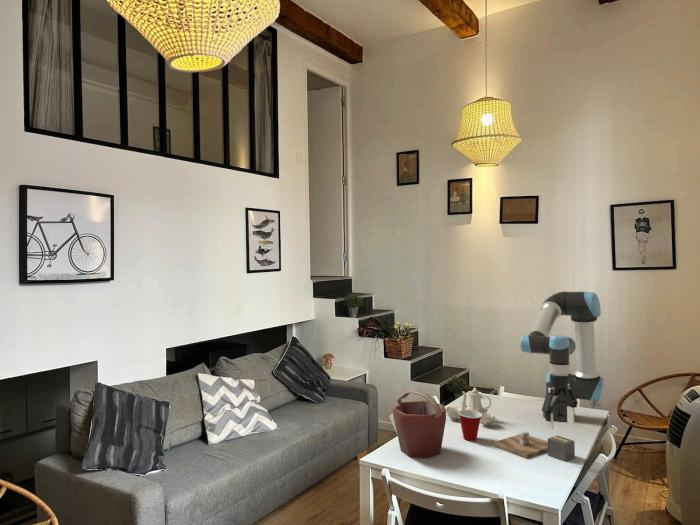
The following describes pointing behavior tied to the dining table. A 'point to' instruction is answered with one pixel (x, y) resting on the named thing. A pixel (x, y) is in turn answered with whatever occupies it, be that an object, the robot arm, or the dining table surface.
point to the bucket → (420, 426)
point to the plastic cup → (469, 423)
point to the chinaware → (473, 408)
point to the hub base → (522, 445)
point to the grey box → (561, 448)
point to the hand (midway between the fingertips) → (560, 425)
